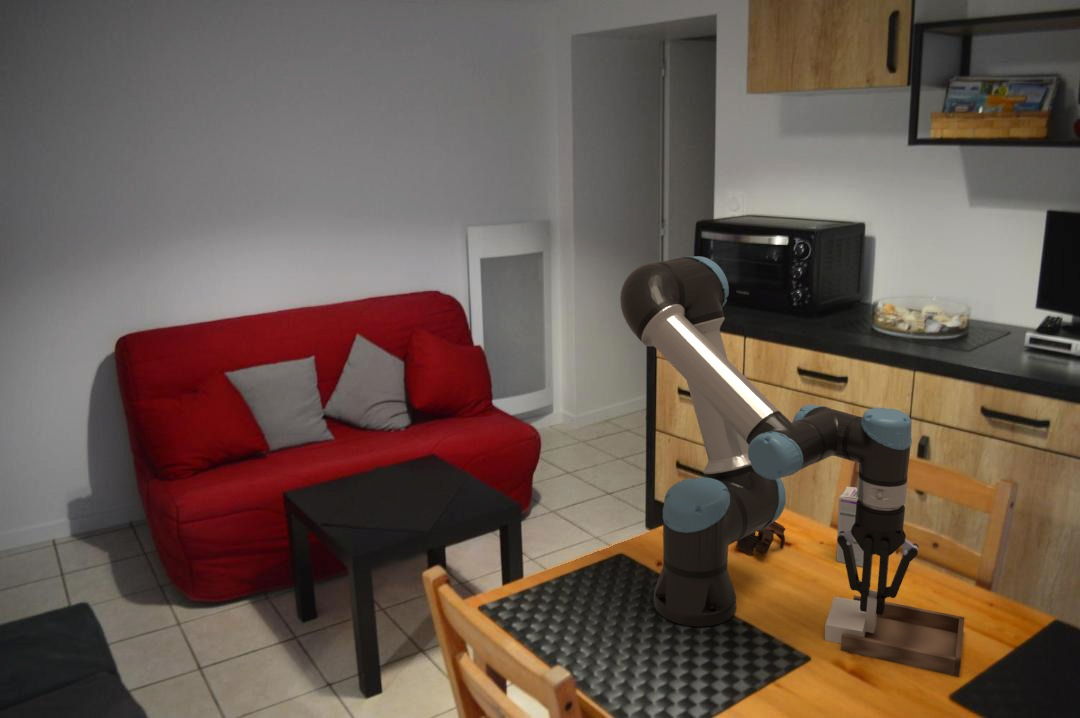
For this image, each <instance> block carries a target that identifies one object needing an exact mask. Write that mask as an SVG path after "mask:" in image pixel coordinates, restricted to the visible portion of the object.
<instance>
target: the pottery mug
mask: <svg viewBox="0 0 1080 718" xmlns="http://www.w3.org/2000/svg"><path fill="white" fill-rule="evenodd" d="M785 531H786V528H785V527H784V525H781V523H778V522H776V521H774V522H773V523H771V524H770V525H769V526H768V527H766V528H764V529H763V530H760V531H756V532H757V533H756V532H754V533H752V534H750V535H748V536H746V537H744V538H742V539H740V540H738V541H736V543H735V547H736V548H737V549H739V550H740V551H741V552H742V553H745V554H746V555H749V556H750V557H753V555H754V552H755V551H756V552H757V554H759V555H766V554H767V553H768V551H769V549H770V547H771V545H772V543H773V542H774V540H775V539H774V538H775V536H774V535H776V536H777V537H778V539H779V540H780V544H779V547H780V546H781V547H780V548H784V546H785V543H786V537H785V536H786V535H785ZM756 534H757V535H756Z"/></svg>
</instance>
